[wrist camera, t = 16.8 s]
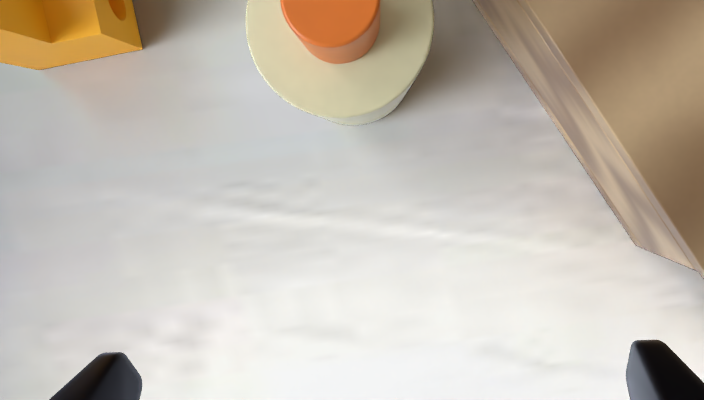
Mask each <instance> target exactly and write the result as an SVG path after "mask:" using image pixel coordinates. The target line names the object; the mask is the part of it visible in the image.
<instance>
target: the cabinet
mask: <svg viewBox="0 0 704 400" xmlns="http://www.w3.org/2000/svg"><path fill="white" fill-rule="evenodd" d="M472 1H473V2H474V4H475V5H476V7H477V8H478V10H479V11H480V13H481V14H482V16H483V17H484V19H485V20H486V22H487V23H488V25H489V26H490V28H491V29H492V31H493V32H494V34H495V35H496V37H497V38H498V40H499V41H500V43H501V44H502V46H503V47H504V49H505V50H506V52H507V53H508V55H509V56H510V58H511V59H512V61H513V62H514V64H515V65H516V67H517V68H518V70H519V71H520V73H521V74H522V76H523V77H524V79H525V80H526V82H527V83H528V85H529V86H530V88H531V89H532V91H533V92H534V94H535V95H536V97H537V98H538V100H539V101H540V103H541V104H542V106H543V107H544V109H545V110H546V112H547V113H548V115H549V116H550V118H551V119H552V121H553V122H554V124H555V125H556V127H557V128H558V130H559V131H560V133H561V134H562V136H563V137H564V139H565V140H566V142H567V143H568V145H569V146H570V148H571V149H572V151H573V152H574V154H575V155H576V157H577V158H578V160H579V161H580V163H581V164H582V166H583V167H584V169H585V170H586V172H587V173H588V175H589V176H590V178H591V179H592V181H593V182H594V184H595V185H596V187H597V188H598V190H599V191H600V193H601V194H602V196H603V197H604V199H605V200H606V202H607V203H608V205H609V206H610V208H611V209H612V211H613V212H614V214H615V215H616V217H617V218H618V220H619V221H620V223H621V224H622V226H623V227H624V229H625V230H626V232H627V233H628V235H629V236H630V238H631V239H632V241H633V242H634V244H635V245H636V246H638V247H641V248H643V249H645V250H648V251H650V252H653V253H655V254H657V255H660V256H662V257H664V258H667V259H669V260H672V261H674V262H676V263H679V264H681V265H684V266H686V267H688V268H691V269H693V270H696V271H698V272H700V273H702V274H704V0H472Z"/></svg>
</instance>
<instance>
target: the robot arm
mask: <svg viewBox="0 0 704 400" xmlns="http://www.w3.org/2000/svg"><path fill="white" fill-rule="evenodd" d="M626 381H627V387H628V391H629V396H630V400H704V383H703V382H702V381H701V380H700V379H699V377H698V376H697V375H696V374H695V373H694V372H693V371H692V370H691V369H690V368H689V367H688V366H687V365H686V364H685V363H684V362H683V361H682V360H681V359H680V358H679V357H678V356H677V355H676V354H675V353H674V352H673V351H672V350H671V349H670V348H669V347H668V346H667V345H666V344H665V343H663V342H662V341H659V340H637V341H634V342H633V343H632V345H631V349H630V354H629V359H628V364H627V369H626ZM141 391H142V379H141V376H140V374H139V373H138V372H137V370H136V369H135V367H134V366H133V365H132V363H131V362H130V360H129V359H128V358H127V356H126V355H125V354H123V353H120V352H114V353H103V354H100V355H99V356H97V357H96V358H95V359H94V360H93V361H92V362H91V363H89V364H88V365H87V366H86V367H85V368H84V369H83V370H82V371H81V372H79V373H78V374H77V375H76V376H75V377H74V378H73V379H72V380H71V381H69V382H68V383H67V384H66V385H65V386H64V387H63V388H62V389H61V390H59V391H58V392H57V393H56V394H55V395H54V396H53V397H52V398H51V399H49V400H139V399H140V395H141Z"/></svg>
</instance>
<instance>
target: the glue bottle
mask: <svg viewBox="0 0 704 400" xmlns="http://www.w3.org/2000/svg"><path fill="white" fill-rule="evenodd" d="M433 31H434V10H433V2H432V0H248V2H247V9H246V34H247V41H248V45H249V49H250V52H251V56H252V58H253V60H254V63H255V65H256V67H257V69H258V71H259V72H260V74H261V76H262V77H263V79H264V80H265V81H266V82H267V84H268V85H269V86H270V87H271V88H272V89H273V90H274V91H275V92H276V93H277V94H278V95H279V96H280V97H281V98H282V99H284V100H285V101H286V102H288V103H289V104H291V105H293V106H294V107H296V108H298V109H300V110H302V111H305V112H307V113H310V114H312V115H315V116H318V117H321V118H324V119H327V120H329V121H332V122H335V123H339V124H342V125H364V124H368V123H372V122H375V121H377V120H379V119H381V118H383V117H385V116H386V115H388V114H389V113H390V112H392V111H393V110H394V109H395V108H396V107H397V106H398V105H399V103H400V102H401V101H402V99H403V98H404V96H405V95H406V93H407V92H408V90H409V88H410V87H411V85H412V84H413V82H414V80H415V79H416V77H417V76H418V74H419V72H420V70H421V69H422V67H423V65H424V63H425V61H426V58H427V56H428V53H429V50H430V46H431V43H432V38H433Z"/></svg>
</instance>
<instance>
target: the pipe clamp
mask: <svg viewBox="0 0 704 400" xmlns="http://www.w3.org/2000/svg"><path fill="white" fill-rule="evenodd" d="M142 49H143V48H142V44H141V39H140V34H139V30H138V25H137V21H136V16H135V11H134V7H133V2H132V0H0V62H1V63H6V64H11V65H16V66H21V67H26V68H31V69H36V70H42V69H47V68H52V67H57V66H62V65H67V64H72V63H77V62H82V61H87V60H92V59H97V58H102V57H107V56H112V55H117V54H122V53H127V52H132V51H137V50H142Z"/></svg>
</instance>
